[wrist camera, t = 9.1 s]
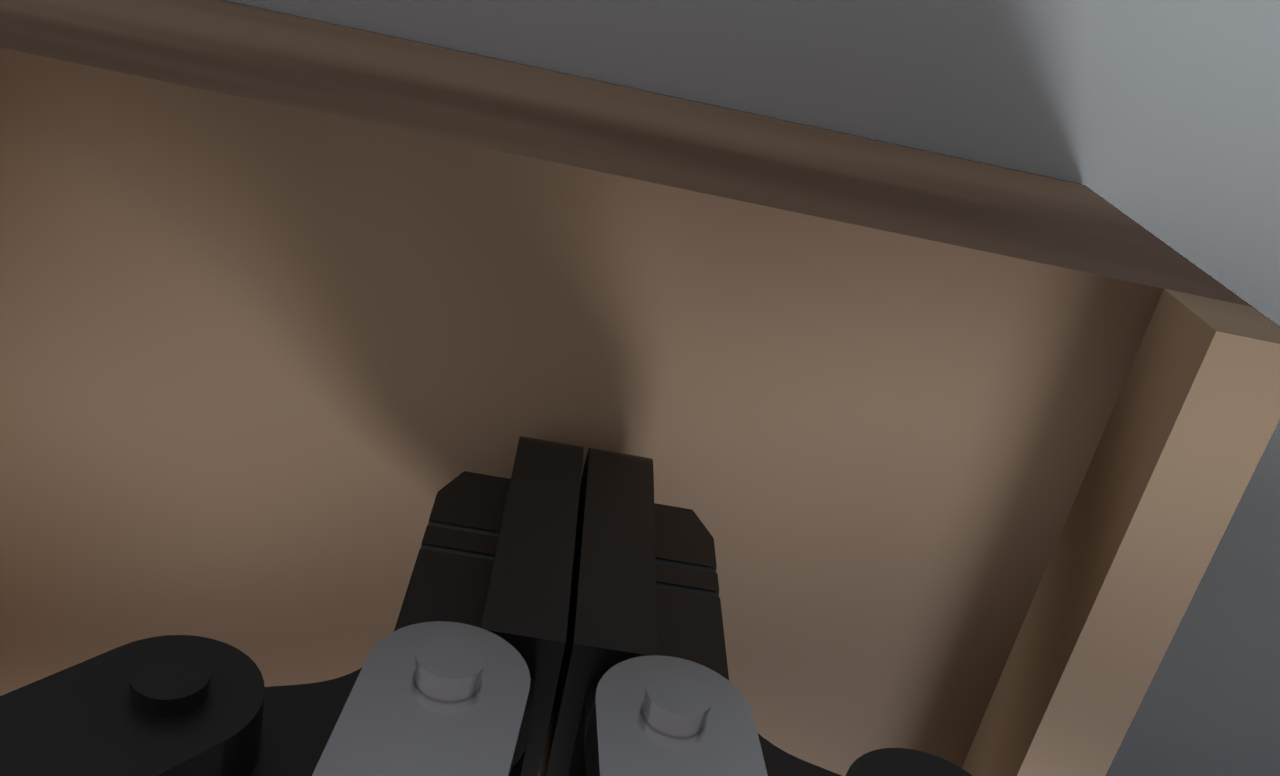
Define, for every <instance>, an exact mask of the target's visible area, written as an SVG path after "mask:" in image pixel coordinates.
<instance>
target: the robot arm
mask: <svg viewBox="0 0 1280 776" xmlns="http://www.w3.org/2000/svg"><path fill="white" fill-rule="evenodd" d="M583 450H584V447H581V446H575V445H570V444H564V443H558V442H552V441H547V440H541V439H535V438H529V437H523V436H520V437H519V442H518V447H517V452H516V457H515V461H514V466H513V471H512V476H511V479H508V478H502V477H496V476H490V475H484V474H479V473H473V472H467V471H464V472H462V473H461V474H460V475H459V476H457V477H456V478H455V479H453V480H452V481H451V482H450V483H448V484H447V485H446V486H445V487H443V488H442V489H441V490H439V491H438V492H437V495H436V498H435V502H434V505H433V508H432V511H431V514H430V518H429V522H428V525H427V527H426V530H425V533H424V537H423V540H422V543H421V549H419V553H418V556H417V559H416V562H415V565H414V569H413V572H412V575H411V578H410V581H409V585H408V588H407V591H406V594H405V597H404V600H403V604H402V607H401V610H400V613H399V616H398V620H397V623H396V626H395V629H394V632H392V633H390V634H388V635H387V636H385V637H384V638H382V639H381V640H380V641H379V642H378V643H377V644H376V645H375V646H374V647H373V648H372V650H371V651H370V653H369V655H368V656H367V658H366V660H365V663H364V665H363V667H362V668H360V669H358V670H356V671H354V672H352V673H350V674H347V675H345V676H342V677H339V678H336V679H332V680H327V681H323V682H317V683H309V684H299V685H285V686H272V687H264V680H263V676H262V673H261V671H260V670H259V668H258V667H257V665H256V664H255V662H254V661H253V660H252V659H251V658H250V657H249V656H248V655H246V654H245V653H243V652H242V651H240V650H239V649H237V648H235V647H233V646H231V645H229V644H227V643H224V642H221V641H218V640H215V639H211V638H206V637H200V636H191V635H165V636H157V637H150V638H146V639H142V640H137V641H134V642H131V643H128V644H125V645H123V646H120V647H117V648H115V649H113V650H110V651H108V652H105V653H103V654H101V655H98V656H96V657H93V658H91V659H88V660H86V661H84V662H81V663H79V664H76V665H74V666H72V667H69V668H67V669H64V670H62V671H60V672H57V673H55V674H52V675H50V676H48V677H45V678H43V679H40V680H38V681H35V682H33V683H31V684H28V685H26V686H23V687H21V688H19V689H16V690H14V691H11V692H9V693H7V694H4V695H2V696H0V776H538V774H539V776H841V775H839V774H836V773H834V772H831V771H829V770H826V769H824V768H821V767H819V766H816V765H814V764H811V763H809V762H806V761H804V760H802V759H799V758H797V757H795V756H793V755H791V754H788V753H787V752H785V751H783V750H781V749H780V748H778V747H776V746H775V745H773V744H772V743H770V742H769V741H768V740H766V739H765V738H763V737H762V736H761V735H760V734H759V733H758V732H757V728H756V724H755V720H754V716H753V713H752V710H751V707H750V705H749V703H748V702H747V700H746V698H745V697H744V696H743V694H742V693H741V692H740V691H739V690H738V689H737V688H736V687H735V686H734V685H733V684H732V683H731V682H730V681H729V674H728V665H727V656H726V647H725V637H724V628H723V619H722V610H721V601H720V597H719V582H718V573H716V569H717V564H716V555H715V546H714V538H713V537H712V535H711V534H710V533H709V531H708V530H707V528H706V527H705V526H704V524H703V523H702V522H701V520H700V519H699V518H698V516H697V515H696V514H695V512H694V511H693V510H692V509H686V508H680V507H674V506H668V505H663V504H657V503H654V471H653V459H652V458H646V457H640V456H635V455H629V454H623V453H617V452H611V451H606V450H600V449H594V448H589V449H588V452H587V456H586V460H585V465H584V469H583V474H582V479H581V472H582V461H583ZM580 483H581V484H580ZM846 776H972V775H971V774H969V773H968V772H967V771H965V770H963V769H962V768H960V767H958V766H957V765H955V764H953V763H951V762H949V761H947V760H945V759H942V758H940V757H938V756H935V755H932V754H929V753H926V752H922V751H918V750H914V749H906V748H883V749H877V750H874V751H871V752H868V753H865V754H864V755H862V756H861V757H859V758H857V759H856V760H855V761H854V762H853V764H852V765H851V766H850V768H849V770H848V772H847V773H846Z"/></svg>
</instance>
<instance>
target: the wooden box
mask: <svg viewBox="0 0 1280 776" xmlns="http://www.w3.org/2000/svg"><path fill="white" fill-rule="evenodd" d="M1279 420H1280V326H1278V325H1277V324H1275V323H1274V322H1273V321H1271V320H1270V319H1269V318H1267V317H1266V316H1264V315H1263V314H1262V313H1260V312H1259V311H1258V310H1256V309H1255V308H1253V307H1252V306H1251V305H1249V304H1248V303H1247V302H1245V301H1244V300H1242V299H1241V298H1240V297H1238V296H1237V295H1235V294H1234V293H1233V292H1231V291H1230V290H1229V289H1227V288H1226V287H1224V286H1223V285H1222V284H1220V283H1219V282H1218V281H1216V280H1215V279H1213V278H1212V277H1211V276H1209V275H1208V274H1207V273H1205V272H1204V271H1202V270H1201V269H1200V268H1198V267H1197V266H1195V265H1194V264H1193V263H1191V262H1190V261H1189V260H1187V259H1186V258H1184V257H1183V256H1182V255H1180V254H1179V253H1178V252H1176V251H1175V250H1173V249H1172V248H1171V247H1169V246H1168V245H1167V244H1165V243H1164V242H1162V241H1161V240H1160V239H1158V238H1157V237H1155V236H1154V235H1153V234H1151V233H1150V232H1149V231H1147V230H1146V229H1144V228H1143V227H1142V226H1140V225H1139V224H1138V223H1136V222H1135V221H1133V220H1132V219H1131V218H1129V217H1128V216H1127V215H1125V214H1124V213H1122V212H1121V211H1120V210H1118V209H1117V208H1115V207H1114V206H1113V205H1111V204H1110V203H1109V202H1107V201H1106V200H1104V199H1103V198H1102V197H1100V196H1099V195H1098V194H1096V193H1095V192H1093V191H1092V190H1091V189H1089V188H1088V187H1087V186H1085V185H1081V184H1076V183H1072V182H1067V181H1062V180H1058V179H1053V178H1048V177H1044V176H1039V175H1034V174H1030V173H1025V172H1020V171H1016V170H1011V169H1006V168H1002V167H997V166H992V165H988V164H983V163H979V162H974V161H969V160H965V159H960V158H955V157H951V156H946V155H941V154H937V153H932V152H927V151H923V150H918V149H913V148H909V147H904V146H899V145H895V144H890V143H885V142H881V141H876V140H871V139H867V138H862V137H857V136H853V135H848V134H843V133H839V132H834V131H829V130H825V129H820V128H815V127H811V126H806V125H801V124H797V123H792V122H787V121H783V120H778V119H773V118H769V117H764V116H759V115H755V114H750V113H745V112H741V111H736V110H731V109H727V108H722V107H717V106H713V105H708V104H703V103H699V102H694V101H689V100H685V99H680V98H675V97H671V96H666V95H661V94H657V93H652V92H647V91H643V90H638V89H633V88H629V87H624V86H619V85H615V84H610V83H605V82H601V81H596V80H591V79H587V78H582V77H577V76H573V75H568V74H563V73H559V72H554V71H549V70H545V69H540V68H536V67H531V66H526V65H522V64H517V63H512V62H508V61H503V60H498V59H494V58H489V57H484V56H480V55H475V54H470V53H466V52H461V51H456V50H452V49H447V48H442V47H438V46H433V45H428V44H424V43H419V42H414V41H410V40H405V39H400V38H396V37H391V36H386V35H382V34H377V33H372V32H368V31H363V30H358V29H354V28H349V27H344V26H340V25H335V24H330V23H326V22H321V21H316V20H312V19H307V18H302V17H298V16H293V15H288V14H284V13H279V12H274V11H270V10H265V9H260V8H256V7H251V6H246V5H242V4H237V3H232V2H228V1H223V0H0V696H2V695H4V694H7V693H9V692H11V691H14V690H16V689H19V688H21V687H23V686H26V685H28V684H31V683H33V682H35V681H38V680H40V679H43V678H45V677H48V676H50V675H52V674H55V673H57V672H60V671H62V670H64V669H67V668H69V667H72V666H74V665H76V664H79V663H81V662H84V661H86V660H88V659H91V658H93V657H96V656H98V655H101V654H103V653H105V652H108V651H110V650H113V649H115V648H117V647H120V646H123V645H125V644H128V643H131V642H134V641H137V640H142V639H146V638H150V637H157V636H165V635H191V636H200V637H206V638H211V639H215V640H218V641H221V642H224V643H227V644H229V645H231V646H233V647H235V648H237V649H239V650H240V651H242V652H243V653H245V654H246V655H248V656H249V657H250V658H251V659H252V660H253V661H254V662H255V664H256V665H257V667H258V668H259V670H260V671H261V673H262V676H263V680H264V687H272V686H285V685H299V684H309V683H317V682H323V681H327V680H332V679H336V678H339V677H342V676H345V675H347V674H350V673H352V672H354V671H356V670H358V669H360V668H362V667H363V665H364V663H365V660H366V658H367V656H368V655H369V653H370V651H371V650H372V648H373V647H374V646H375V645H376V644H377V643H378V642H379V641H380V640H381V639H382V638H384V637H385V636H387V635H388V634H390V633H392V632H394V629H395V626H396V623H397V620H398V616H399V613H400V610H401V607H402V604H403V600H404V597H405V594H406V591H407V588H408V585H409V581H410V578H411V575H412V572H413V569H414V565H415V562H416V559H417V556H418V553H419V549H421V543H422V540H423V537H424V533H425V530H426V527H427V525H428V522H429V518H430V514H431V511H432V508H433V505H434V502H435V498H436V495H437V492H438V491H439V490H441V489H442V488H443V487H445V486H446V485H447V484H448V483H450V482H451V481H452V480H453V479H455V478H456V477H457V476H459V475H460V474H461V473H462V472H464V471H467V472H473V473H479V474H484V475H490V476H496V477H502V478H508V479H511V476H512V471H513V466H514V461H515V457H516V452H517V447H518V442H519V437H520V436H523V437H529V438H535V439H541V440H547V441H552V442H558V443H564V444H570V445H575V446H581V447H584V450H583V461H582V472H581V479H582V474H583V469H584V465H585V460H586V456H587V452H588V449H589V448H594V449H600V450H606V451H611V452H617V453H623V454H629V455H635V456H640V457H646V458H652V459H653V471H654V503H657V504H663V505H668V506H674V507H680V508H686V509H692V510H693V511H694V512H695V514H696V515H697V516H698V518H699V519H700V520H701V522H702V523H703V524H704V526H705V527H706V528H707V530H708V531H709V533H710V534H711V535H712V537H713V538H714V546H715V555H716V564H717V569H716V573H718V582H719V597H720V601H721V610H722V619H723V628H724V637H725V647H726V656H727V665H728V674H729V681H730V682H731V683H732V684H733V685H734V686H735V687H736V688H737V689H738V690H739V691H740V692H741V693H742V694H743V696H744V697H745V698H746V700H747V702H748V703H749V705H750V707H751V710H752V713H753V716H754V720H755V724H756V728H757V732H758V733H759V734H760V735H761V736H762V737H763V738H765V739H766V740H768V741H769V742H770V743H772V744H773V745H775V746H776V747H778V748H780V749H781V750H783V751H785V752H787V753H788V754H791V755H793V756H795V757H797V758H799V759H802V760H804V761H806V762H809V763H811V764H814V765H816V766H819V767H821V768H824V769H826V770H829V771H831V772H834V773H836V774H839V775H841V776H846V773H847V772H848V770H849V768H850V766H851V765H852V764H853V762H854V761H855V760H856V759H857V758H859V757H861V756H862V755H864V754H865V753H868V752H871V751H874V750H877V749H883V748H906V749H914V750H918V751H922V752H926V753H929V754H932V755H935V756H938V757H940V758H942V759H945V760H947V761H949V762H951V763H953V764H955V765H957V766H958V767H960V768H962V769H963V770H965V771H967V772H968V773H969V774H971V775H972V776H1106V774H1107V771H1108V769H1109V767H1110V765H1111V763H1112V761H1113V759H1114V757H1115V755H1116V753H1117V751H1118V749H1119V747H1120V745H1121V743H1122V741H1123V739H1124V737H1125V735H1126V733H1127V731H1128V729H1129V727H1130V724H1131V722H1132V720H1133V718H1134V716H1135V714H1136V712H1137V710H1138V708H1139V706H1140V704H1141V702H1142V700H1143V698H1144V696H1145V694H1146V692H1147V690H1148V688H1149V686H1150V684H1151V682H1152V680H1153V677H1154V675H1155V673H1156V671H1157V669H1158V667H1159V665H1160V663H1161V661H1162V659H1163V657H1164V655H1165V653H1166V651H1167V649H1168V647H1169V645H1170V643H1171V641H1172V639H1173V637H1174V635H1175V633H1176V630H1177V628H1178V626H1179V624H1180V622H1181V620H1182V618H1183V616H1184V614H1185V612H1186V610H1187V608H1188V606H1189V604H1190V602H1191V600H1192V598H1193V596H1194V594H1195V592H1196V590H1197V588H1198V586H1199V583H1200V581H1201V579H1202V577H1203V575H1204V573H1205V571H1206V569H1207V567H1208V565H1209V563H1210V561H1211V559H1212V557H1213V555H1214V553H1215V551H1216V549H1217V547H1218V545H1219V543H1220V541H1221V539H1222V536H1223V534H1224V532H1225V530H1226V528H1227V526H1228V524H1229V522H1230V520H1231V518H1232V516H1233V514H1234V512H1235V510H1236V508H1237V506H1238V504H1239V502H1240V500H1241V498H1242V496H1243V494H1244V492H1245V489H1246V487H1247V485H1248V483H1249V481H1250V479H1251V477H1252V475H1253V473H1254V471H1255V469H1256V467H1257V465H1258V463H1259V461H1260V459H1261V457H1262V455H1263V453H1264V451H1265V449H1266V447H1267V445H1268V442H1269V440H1270V438H1271V436H1272V434H1273V432H1274V430H1275V428H1276V426H1277V424H1278V422H1279ZM580 484H581V483H580ZM538 776H539V774H538Z"/></svg>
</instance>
